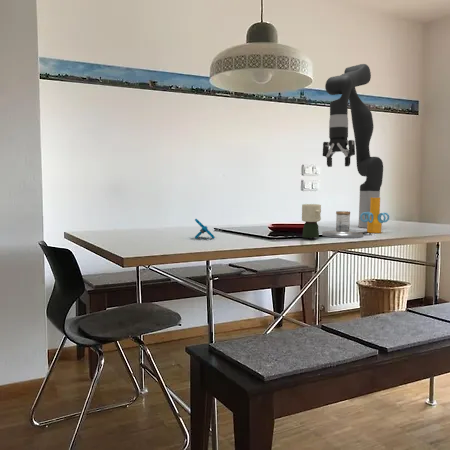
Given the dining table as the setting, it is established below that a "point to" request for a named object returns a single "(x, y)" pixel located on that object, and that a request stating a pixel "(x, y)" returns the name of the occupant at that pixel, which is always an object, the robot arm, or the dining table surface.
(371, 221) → the orange block with rings
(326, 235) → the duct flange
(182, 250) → the dining table surface
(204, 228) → the blue piece
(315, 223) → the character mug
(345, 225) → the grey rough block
